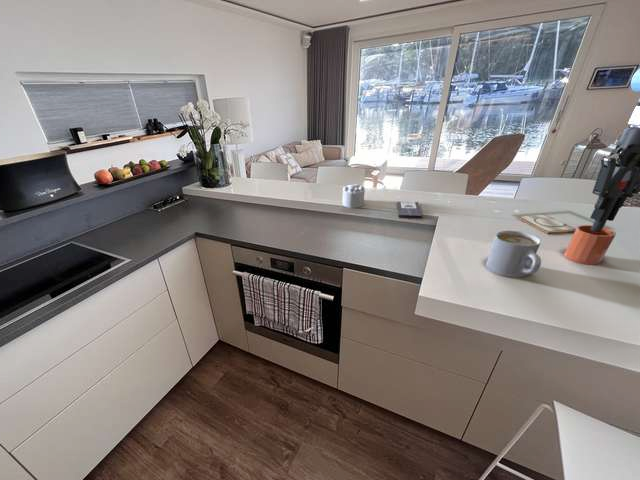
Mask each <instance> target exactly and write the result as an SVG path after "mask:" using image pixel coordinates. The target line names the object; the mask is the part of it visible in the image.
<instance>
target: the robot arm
mask: <svg viewBox="0 0 640 480" xmlns="http://www.w3.org/2000/svg"><path fill="white" fill-rule="evenodd" d="M630 88H631V90H632V91H633V92H635V93H639V94H640V67H639V68H638V69H637V70H636V71H635V73H634V74H633V75H632V77H631V80H630ZM634 107H635V108H634V110H633V111H632V114H631V116H630V118H629V120H628V122H627V124H628V126H627V127H625V128H624V130H623V132H622V134H621V136H620V138H619V140H618V143H619V144H620V145H619V147H618V148H617V149H616V151H615V152H614V153H613V154H611V155H610V156H602V157H601V159H600V168H599V171H598V174H597V177H596V180H595V183H594V186H593V189H592V194H593V195H596V196H598V197H597V200H596V202H595V204H594V209H593V211H592V213H591V215H590V217H589V218H590V219H591V220H593V221H595V220H596V221H599V222H601V221H602V220H603V219H604V217H605V215H606V213H607V211H608V209H609V207H610V205H611V203H612V201H613V199H614V198H612V197H611V196H612V195H613V193H614V192H615V190H616V189H617V187H618V185H619V184H620V182H621V181H622V180H627V181H628V182H627V184H626V186H625V188H624V189H623V191H622V192H621V194H620V196H619V198H618V200H617V202H616V204H615V206H614V208H613V210H612V212H611V214H610V216H609V217H608V219H607V221H608V222H614V220H615V218H616V216H617V215H618V212H619V211H620V209H622V207H623V206H624V204H625V202H626V200H627V199H628V198H629V199H630V198H633V197H634V196H635V195H638V194H639V193H640V98H639V99H638V101H637V103H636V105H635V106H634ZM629 125H630V126H629Z"/></svg>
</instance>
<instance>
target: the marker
mask: <svg viewBox="0 0 640 480" xmlns="http://www.w3.org/2000/svg"><path fill="white" fill-rule="evenodd" d="M627 182H628V181H627V180H622V181H621V182H620V184H619V185H618V187H617V189H616V190H615V192H614V193H613V195H612V196H611V197H612V198H614V199H613V201H612V203H611V205H610V207H609V209H608V211H607V213H606V215H605V217H604V219H603V220H602V221H601V222H599V221H596V220H593V221H594V222H593V223H592V227H591V229H590V230H592V231H595V232H601V231H602V229H603V227H604V228H605V226H606V223H607V221H608V220H607V219H608V217H609V216H610V214H611V212H612V210H613V208H614V206H615V204H616V202H617V200H618V198H619V196H620V194H621V192H622V191H623V189H624V188H625V186H626V184H627Z"/></svg>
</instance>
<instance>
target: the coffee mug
mask: <svg viewBox="0 0 640 480" xmlns="http://www.w3.org/2000/svg"><path fill="white" fill-rule="evenodd" d="M540 245H541V239H540V238H539V237H538V236H536V235H535V234H532V233H528V232H524V231H519V230H501V231H498V232H497V233H495V236H494V239H493V242H492V245H491V249H490V251H489V254H488V257H487V260H486V263H485V267H486V268H487V270H489V271H490V272H491V273H493V274H495V275H499V276H501V277H505V278H510V279H511V278H512V279H519V278H524V277H526V276H527V275H532V274H535V273H537V272H538V271H539V269H540V268H541V265H542V259H541V256H540V255H539V254H537V253H538V250H539V249H540Z"/></svg>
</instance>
